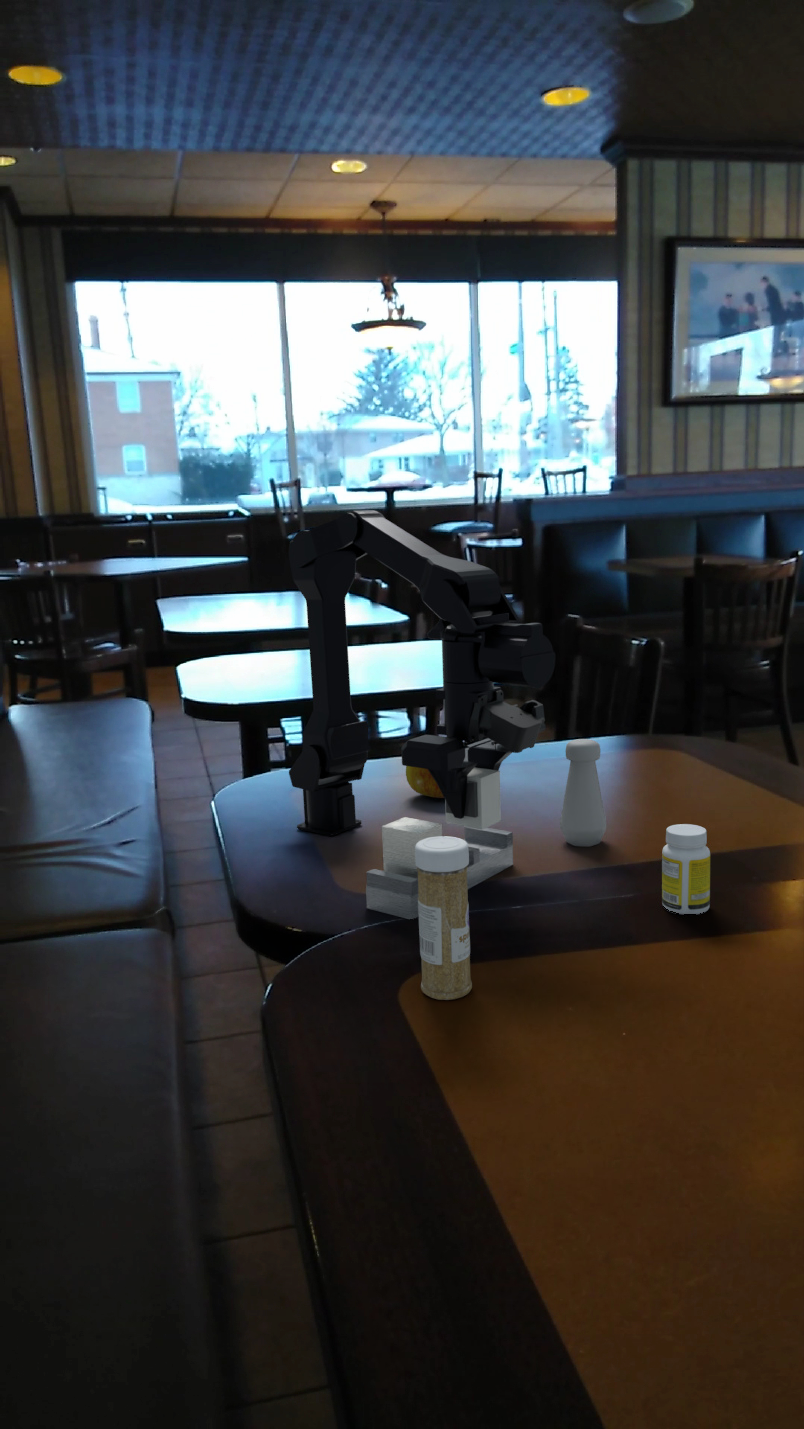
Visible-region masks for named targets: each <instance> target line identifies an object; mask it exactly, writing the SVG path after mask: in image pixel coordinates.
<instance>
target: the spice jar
mask: <svg viewBox="0 0 804 1429" xmlns="http://www.w3.org/2000/svg"><path fill="white" fill-rule="evenodd" d="M415 864H416V866H417V871H418V894H419V898H418V911H419V916H418V929H419V930H418V932H419V955H420V958H421V963H420V964H421V982H420V983H421V984H420V990H421V992H422V993H423V994H425V995H426V996H428V997H429V998H432V999H433V1000H434V999H436V1000H439V1001H440V1000H441V1001H443V1000H445V1001H449V1000H450V1001H452V1000H457V999H460V998H463V997H464V996H466V995H468V994H469V993H470V992H471V990H472V988H473V982H472V979H471V960H470V959H471V955H470V954H471V938H470V937H471V935H470V919H469V918H470V916H469V915H470V914H469V912H470V910H469V909H470V908H469V907H470V906H469V901H468V898H469V896H468V890H467V868H468V867H467V865H468V864H469V849H468V844H467V842H466V841H464V839H463V838H459V837H455V836H445V835H444V836H443V835H442V836H438V837H430V838H426V839H423V840H421V841H419V842H418V843H417V844H416V846H415Z"/></svg>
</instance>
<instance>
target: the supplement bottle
mask: <svg viewBox="0 0 804 1429" xmlns="http://www.w3.org/2000/svg"><path fill="white" fill-rule="evenodd" d="M665 832H666V833H665V843H666V845H664V846H663V848H662V851H661V852H662V853H661V860H662V861H661V883H662V884H661V889H662V890H661V903H662V906H664V907H665V908H666V909H668V910H669V911H668V910H667V911H668V912H670V911H673V912H676V913H679V915H684V914H696V915H701V914H704V913H706V912H707V911H709V909H710V906H711V905H710V904H711V900H710V899H711V851H710V848H708V846H706V845H707V840H708V839H707V835H708V834H707V829H706V828H705V827H702V826H700V825H697V824H690V823H682V824H680V823H679V824H672V825H670V826H668V827H667V828H666V831H665ZM664 907H663V908H664ZM665 908H664V909H665ZM666 909H665V910H666ZM673 912H672V913H673ZM703 912H704V913H703ZM676 913H675V914H676ZM700 913H701V914H700Z"/></svg>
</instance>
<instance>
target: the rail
mask: <svg viewBox="0 0 804 1429" xmlns="http://www.w3.org/2000/svg"><path fill="white" fill-rule="evenodd" d="M463 828H464V839H463V840H464V841H466V842H467V844H468V849H469V864H468V865H467V867H468V868H467V891H468V890H470V889H471V888H473V887H474V886H477V885H478V884H480V883H482V882H484V881H486V880H488V879H490V878H491V877H493V876H495V875H497V874H498V873H500V872H502V871H504V870H506V869H508V868H509V867H511V866H513V865H514V847H513V844H514V840H513V839H514V838H513V837H514V836H513V831H508V830H503V829H497V828H491V827H487V828H485V829H483V830H480V829H475V828H470V827H464V826H463ZM381 834H382V835H381V836H382V860H383V864H382V865H383V870H381V869H376V868H371V869H370V870H368V871H366V886H365V894H366V895H365V897H366V909H368V910H372V911H376V912H380V913H383V914H388V915H391V916H395V917H400V918H403V919H407V920H410V919H413V918H415V919H416V918H419V911H418V898H419V894H418V871H417V866H416V864H415V846H416V844H417V843H418V842H419V841H421V840H423V839H426V838H430V837H438V836H443V823H438V822H433V821H430V820H423V819H418V818H412V817H407V816H404V817H401V818H399V819H396V820H394V821H391V822H389V823H386V824H384V825H381ZM413 920H414V919H413Z"/></svg>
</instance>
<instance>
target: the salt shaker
mask: <svg viewBox="0 0 804 1429" xmlns="http://www.w3.org/2000/svg"><path fill="white" fill-rule="evenodd" d="M564 751H565V757H566V759H567V760H568V761H570V762H569V768H568V774H567V780H566V784H565V785H566V786H565V792H564V797H563V803H562V810H561V815H560V819H559V820H560V821H559V826H560V830H561V832H562V835H563V836H564V840H565V842H566V843H568V844H570V845H572V846H573V847H592V846H596V845H598V844H601V841H602V839H603V837H604V834H605V832H606V830H607V819H606V818H607V817H606V813H605V809H604V808H605V807H604V803H603V798H602V792H601V786H600V780H599V775H598V769H597V764H596V761H598V760H600V759H601V745H600V743H599V742H597V741H596V740H594V739H589V738H578V739H572V740H570V741H568V742H567V743H566V746H565V750H564Z"/></svg>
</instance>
